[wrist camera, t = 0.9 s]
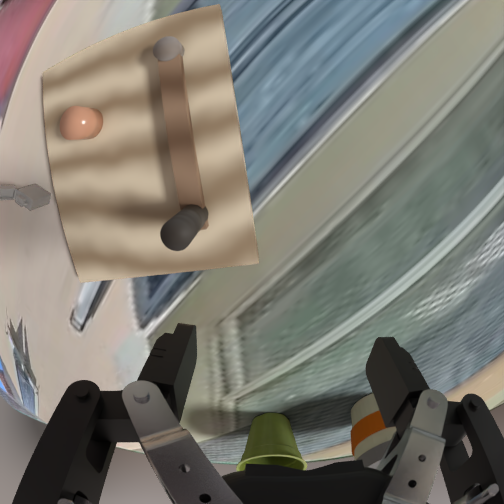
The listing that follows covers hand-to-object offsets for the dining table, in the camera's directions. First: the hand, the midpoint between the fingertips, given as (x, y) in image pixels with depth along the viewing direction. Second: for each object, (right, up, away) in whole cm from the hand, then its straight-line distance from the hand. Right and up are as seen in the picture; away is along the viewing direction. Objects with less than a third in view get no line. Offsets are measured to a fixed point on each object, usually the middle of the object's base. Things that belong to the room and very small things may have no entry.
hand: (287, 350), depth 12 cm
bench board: (-16, +17, +19) cm, 30 cm away
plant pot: (+2, -28, +36) cm, 46 cm away
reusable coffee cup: (+22, -26, +34) cm, 48 cm away
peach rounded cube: (-21, +20, +16) cm, 33 cm away
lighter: (-34, +14, +22) cm, 43 cm away
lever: (-9, +17, +16) cm, 25 cm away
